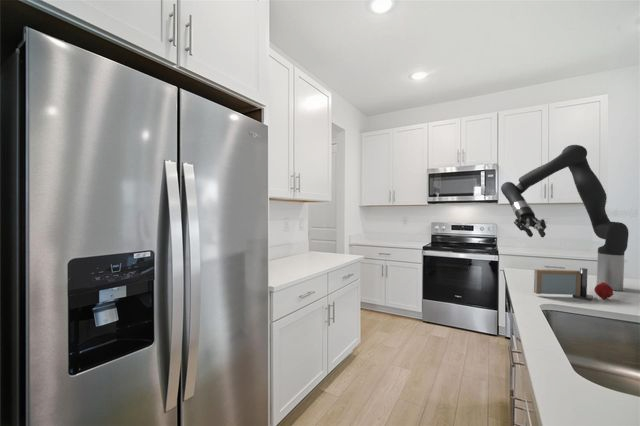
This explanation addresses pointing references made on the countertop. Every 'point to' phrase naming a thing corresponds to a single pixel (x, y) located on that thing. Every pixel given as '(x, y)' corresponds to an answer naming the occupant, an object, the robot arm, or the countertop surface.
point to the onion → (603, 290)
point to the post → (583, 286)
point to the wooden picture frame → (557, 282)
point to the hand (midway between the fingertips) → (537, 236)
